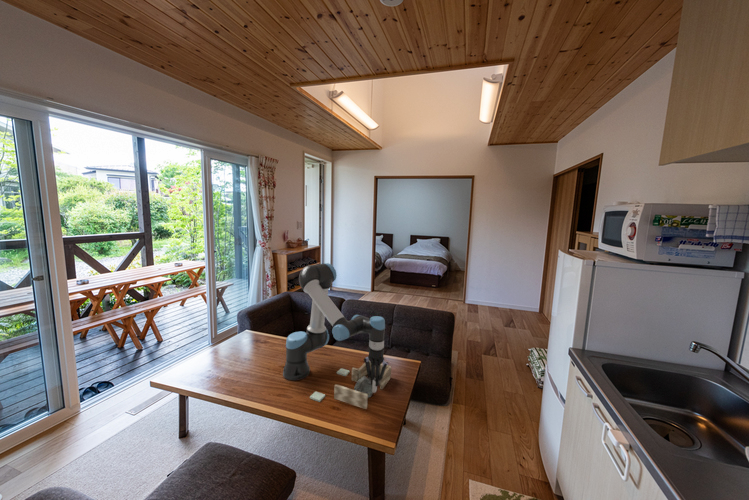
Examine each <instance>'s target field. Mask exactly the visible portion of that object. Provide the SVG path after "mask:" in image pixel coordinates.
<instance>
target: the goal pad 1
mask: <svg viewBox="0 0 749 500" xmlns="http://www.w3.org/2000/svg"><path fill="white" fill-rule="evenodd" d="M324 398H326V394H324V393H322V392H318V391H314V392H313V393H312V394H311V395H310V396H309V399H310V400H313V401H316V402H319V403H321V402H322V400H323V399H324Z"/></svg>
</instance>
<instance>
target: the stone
mask: <svg viewBox="0 0 749 500" xmlns="http://www.w3.org/2000/svg"><path fill="white" fill-rule="evenodd" d="M367 377H368V376H364V377H362V378H361V379H360V380H358V381H357V382H356V383H355V386H354V387H353V390H356V391H359V392H362V393H366V394H368V399H369V398H371V397H372V396H373V394H374V392H372V385H371V380H370V379H368V378H367Z"/></svg>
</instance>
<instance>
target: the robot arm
mask: <svg viewBox="0 0 749 500" xmlns="http://www.w3.org/2000/svg"><path fill="white" fill-rule="evenodd" d="M336 279H337V270H336V268H335V267H334V265H332V264H331V263H329V262H328V263H319V264H318V263H316V264H309V265H306V266H305V267H303V268H302V269H301V270H300V273H299V276H298V282H299V285H300V288H301V289H302V291H303V292H304V293H305V294H307V295H309V296H310V298H311V299H312V302H311V312H310V320H309V324H308V326H307V327H306V332H305V331H295V332H292V333H290V334H288V336H287V337H286V343H285V359H286V360H285V365H284V367H283V371H282V376H283V377H284V378H285V379H286V380H288V381H298V380H299V381H300V380H303V379H305V378H307V377H308V376H309V375H310V370H311V369H310V365H309V362H308V354H309V353H311V352H314V351H317V350H319V349H322V348H323V347H325V346H327V345H328V344H329V343H328V342H329V340H330V333H329V331H328V328H327V327H326V325H325V321H326V320H327V321H328V322H329V324H330V325H331V326H332V330H331V333H332V335H333V338H334V339H335V340H336V341H339V342H341V341H344V340H347V339H349V338H351V337H353V336H356V335H359V334H361V333H364V334H368V335H369V337H368V338H369V339H368V341H369V342H368V356H366V357H365V358H364V359H363V362H364V363H365V364H366V370H367V375H366V376H367V377H370V378H371V385H372V392H373V394H375V393H377V390H378V386H380V384H379V381H381V379H382V378H383V375H384V372H385V369H386V366H387V365H388V366H389V362H388V361H385V356H384V354H385V352H384V351H385V331H386V330H385V329H386V321H385V318H384V317H383V316H378V315H376V316H375V315H374V316H371V317H370V318H369V317H367V316H364V315H361V314H355V315H353V316H352V317H351V318H350V320H347V318H346V317H345V316H344V315H343V313H342V312H341V311H340V309H339V308H338V307H337V306H336V304H335V303H334V302H333V301H332V299H331V298H330V296H329V295H328V294H329V289H331V288H332V283H334V282H335V281H336ZM325 319H326V320H325ZM369 361H370V362H371V368H370V362H369ZM380 364H383V367H382V370H381V373H380ZM375 366H376V375H375ZM375 376H376V378H374V377H375Z"/></svg>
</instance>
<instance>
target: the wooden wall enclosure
mask: <svg viewBox="0 0 749 500" xmlns="http://www.w3.org/2000/svg"><path fill="white" fill-rule="evenodd" d="M369 362H370V361H369ZM382 367H383V363H381V364H380V373H381V370H382ZM370 368H371V362H370ZM364 376H365V377H367V378H368V379H370V380H371V378H370V377H368V375H367V370H366V364H365V362H364V363H362V365H361V366H360V367H358V368H356V367H352V368H351V381H352V382H356V383H357V381H358V380H360V379H361V378H362V377H364ZM374 378H376V366H375V377H374ZM390 379H392V366H391V365H389V364H388V365H387V366H386V369H385V372H384V375H383V378H382V379H381V381H379V390H384V388H385V387H386V385H387V383H389V381H390ZM333 389H334V390H333V391H334V392H333V396H334V397H333V399H334V400H338V401H340V402H344V403H346V404H349V405H351V406H355V407H359V408H361V409H364V410H367V409H368V400H369V398H368V394H366V393H362V392H359V391H356V390H354V388H353V389H352V388H351V387H346V386H343V385H340V384H334V388H333Z"/></svg>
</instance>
